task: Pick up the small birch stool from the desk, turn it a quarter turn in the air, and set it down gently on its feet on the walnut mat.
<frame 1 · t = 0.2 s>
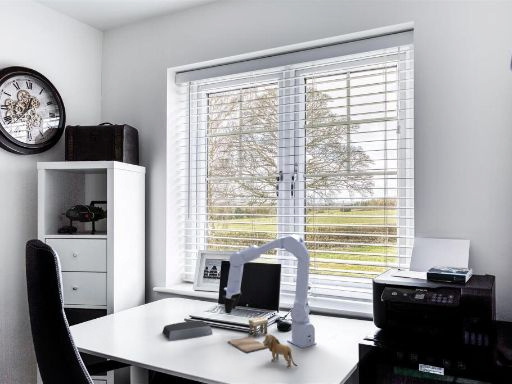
hand: (230, 310, 187), 10 cm above the table, tool pointing down, fingers open, 7 cm apart
lion figurine: (279, 363, 156), on the table
birch stool: (258, 333, 189), on the table
external hard drive: (187, 335, 188), on the table
walnut mat: (247, 345, 174), on the table
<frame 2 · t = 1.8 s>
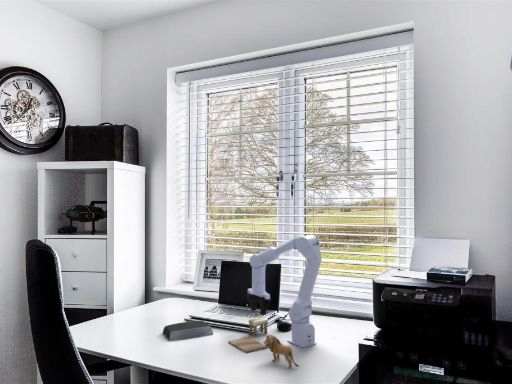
hand: (258, 312, 189), 9 cm above the table, tool pointing down, fingers open, 7 cm apart
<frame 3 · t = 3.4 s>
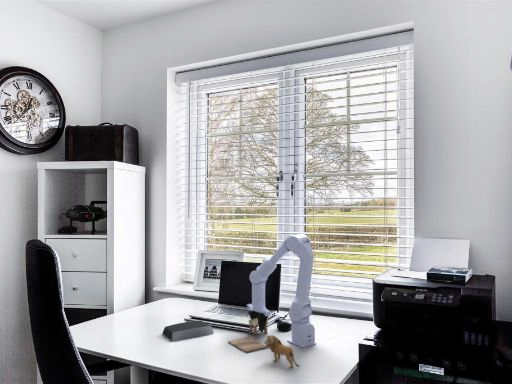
hand: (258, 328, 189), 2 cm above the table, tool pointing down, fingers closed on birch stool, 4 cm apart
birch stool: (258, 333, 189), on the table, touching gripper
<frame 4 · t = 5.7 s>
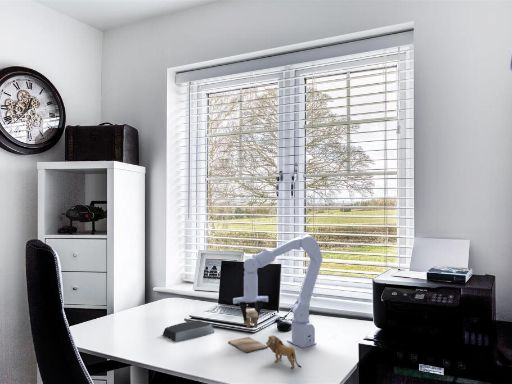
hand: (250, 319, 178), 9 cm above the table, tool pointing down, fingers closed on birch stool, 4 cm apart
birch stool: (250, 325, 178), point 7 cm above the table, touching gripper
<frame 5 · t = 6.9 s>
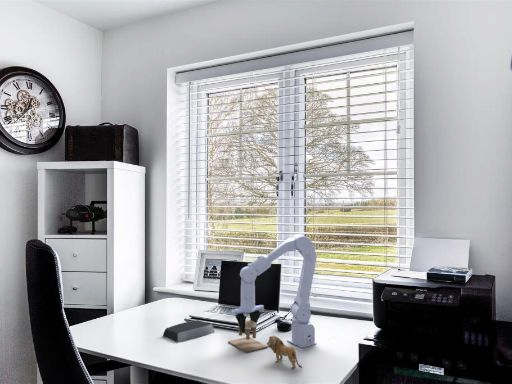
hand: (247, 330, 174), 6 cm above the table, tool pointing down, fingers closed on birch stool, 4 cm apart
birch stool: (247, 336, 174), point 4 cm above the table, touching gripper
when the fingers open (3 cm above the table, at t = 7.9 s): birch stool stays where it is, resting on walnut mat.
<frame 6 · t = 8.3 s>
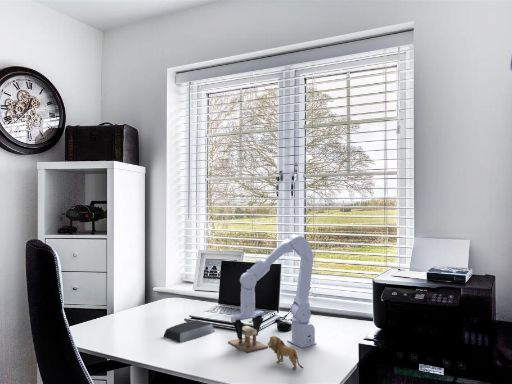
hand: (247, 336, 174), 3 cm above the table, tool pointing down, fingers open, 7 cm apart
birch stool: (247, 343, 174), point 1 cm above the table, touching walnut mat
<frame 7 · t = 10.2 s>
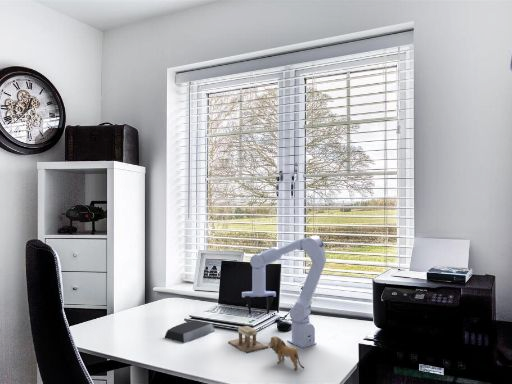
hand: (258, 313, 185), 10 cm above the table, tool pointing down, fingers open, 7 cm apart
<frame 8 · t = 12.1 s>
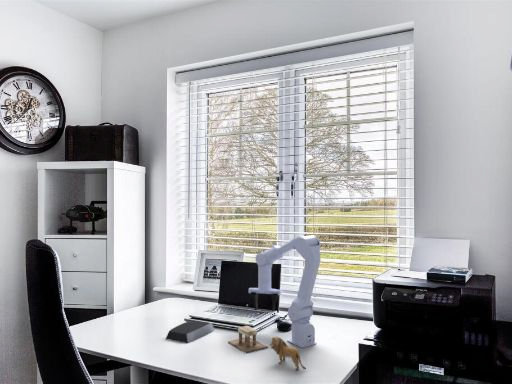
hand: (264, 310, 192), 9 cm above the table, tool pointing down, fingers open, 7 cm apart
at the end: birch stool 0.2 cm off-centre on the walnut mat, point 0.6 cm above the walnut mat's base; birch stool tilted 0°; the gripper is holding nothing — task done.
